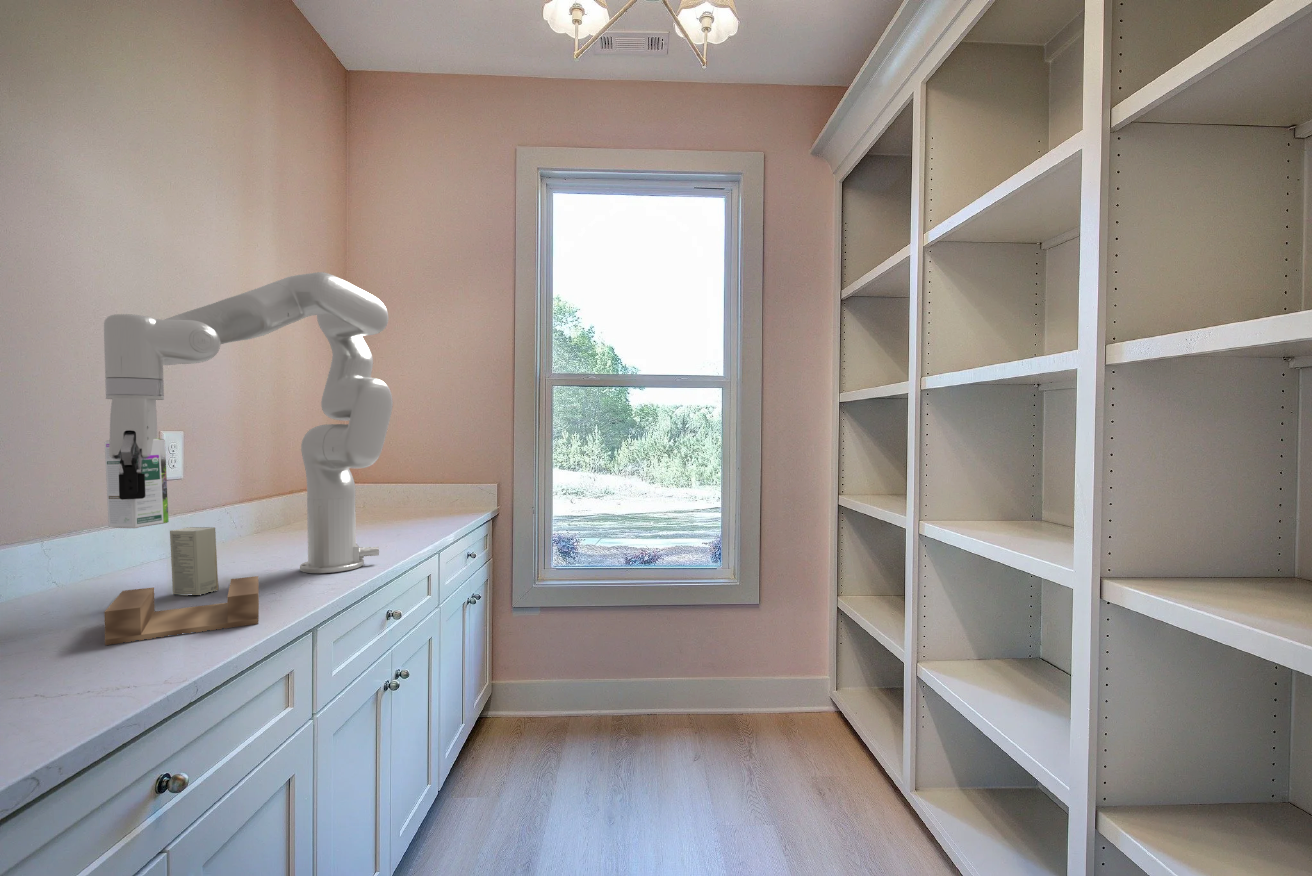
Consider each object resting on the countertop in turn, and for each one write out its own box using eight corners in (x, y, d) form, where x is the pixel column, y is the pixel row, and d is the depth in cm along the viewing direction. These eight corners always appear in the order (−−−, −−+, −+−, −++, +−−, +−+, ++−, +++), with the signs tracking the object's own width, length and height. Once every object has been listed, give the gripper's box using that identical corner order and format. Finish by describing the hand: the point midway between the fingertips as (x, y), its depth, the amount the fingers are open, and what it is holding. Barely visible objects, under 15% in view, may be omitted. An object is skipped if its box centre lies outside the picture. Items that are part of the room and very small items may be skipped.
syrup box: (134, 528, 103) (132, 439, 102) (106, 527, 104) (103, 439, 104) (169, 523, 108) (166, 438, 108) (142, 522, 110) (139, 438, 109)
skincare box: (219, 591, 121) (218, 527, 121) (197, 597, 117) (196, 530, 116) (192, 589, 122) (191, 526, 122) (169, 595, 118) (168, 529, 118)
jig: (258, 603, 112) (258, 576, 112) (258, 623, 100) (257, 593, 100) (123, 620, 102) (122, 590, 102) (105, 645, 90) (104, 611, 90)
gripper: (118, 392, 111) (121, 493, 112) (91, 387, 96) (94, 503, 97) (172, 393, 115) (174, 490, 115) (153, 388, 100) (156, 500, 100)
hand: (138, 495), depth 106 cm, fingers closed on syrup box, 7 cm apart
